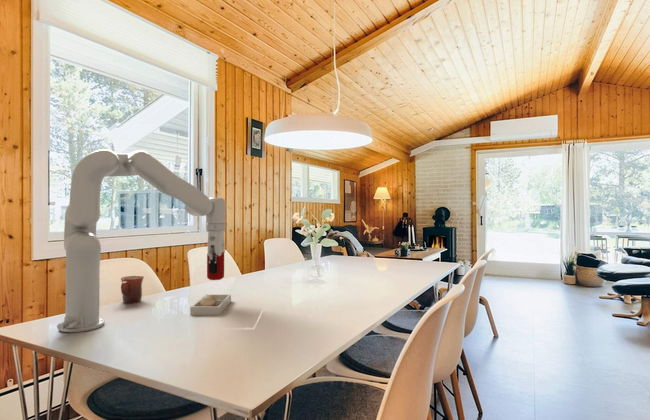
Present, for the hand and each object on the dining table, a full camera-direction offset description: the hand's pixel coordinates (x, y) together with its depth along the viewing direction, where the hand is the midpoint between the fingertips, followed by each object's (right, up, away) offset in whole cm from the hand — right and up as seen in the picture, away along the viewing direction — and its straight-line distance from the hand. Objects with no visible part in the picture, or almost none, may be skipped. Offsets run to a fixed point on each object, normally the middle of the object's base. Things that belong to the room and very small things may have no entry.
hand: (215, 271), depth 153 cm
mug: (-37, -14, +5) cm, 40 cm away
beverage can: (0, -3, 0) cm, 3 cm away
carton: (0, -14, -5) cm, 15 cm away
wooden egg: (0, -14, -10) cm, 17 cm away
